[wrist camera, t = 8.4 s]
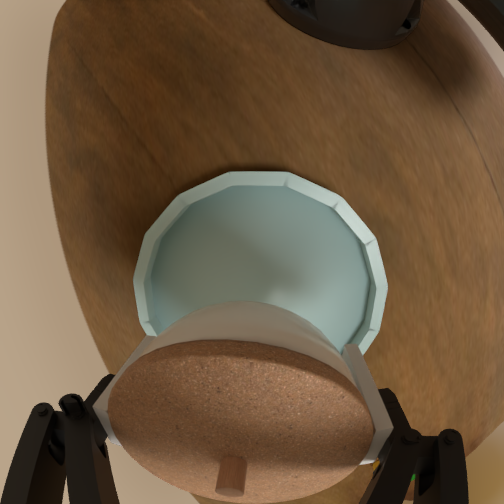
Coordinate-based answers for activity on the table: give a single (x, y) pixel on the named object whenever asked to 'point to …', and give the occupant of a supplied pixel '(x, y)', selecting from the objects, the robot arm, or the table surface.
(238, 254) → the round tray
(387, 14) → the robot arm
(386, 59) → the table surface
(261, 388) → the lidded jar
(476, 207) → the table surface
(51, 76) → the table surface
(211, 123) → the table surface
